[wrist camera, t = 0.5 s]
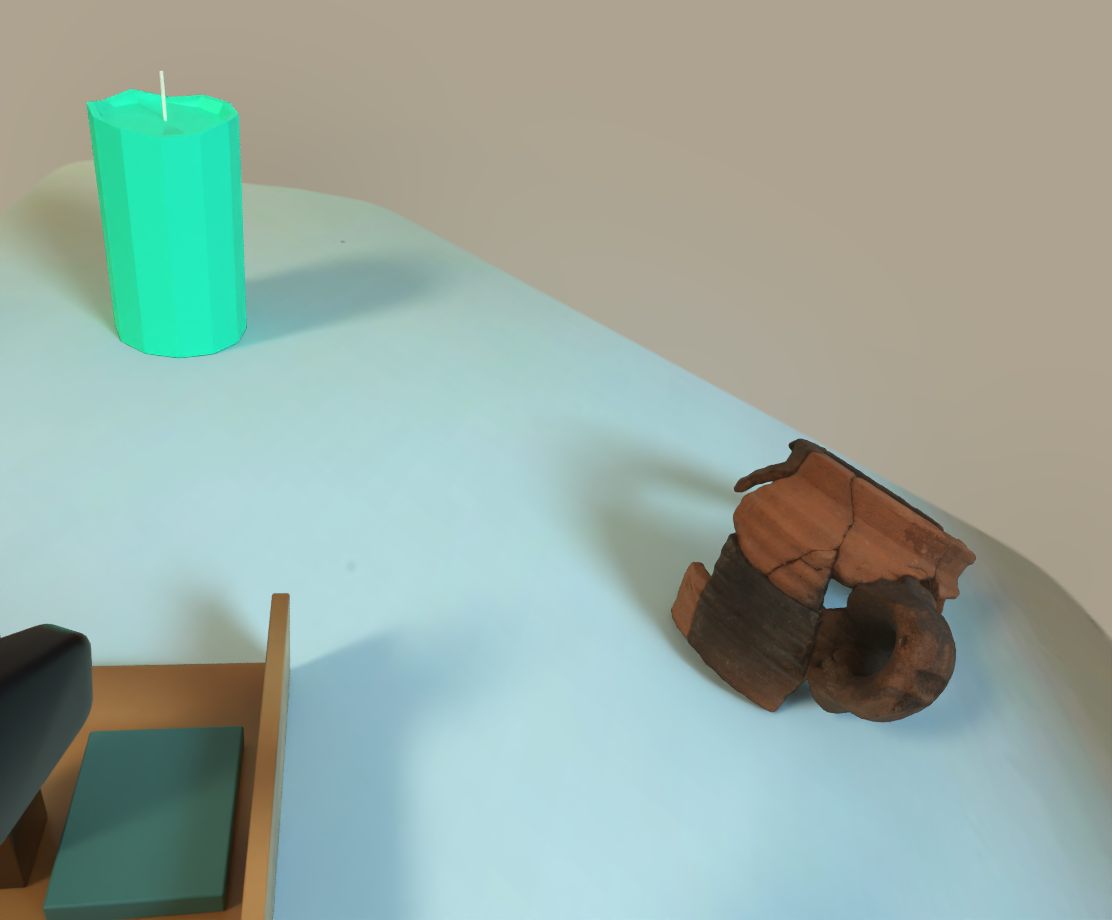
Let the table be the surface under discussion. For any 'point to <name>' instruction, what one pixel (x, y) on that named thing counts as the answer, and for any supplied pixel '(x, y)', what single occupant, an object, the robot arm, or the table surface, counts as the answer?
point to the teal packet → (149, 825)
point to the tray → (175, 702)
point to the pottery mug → (801, 583)
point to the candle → (171, 219)
